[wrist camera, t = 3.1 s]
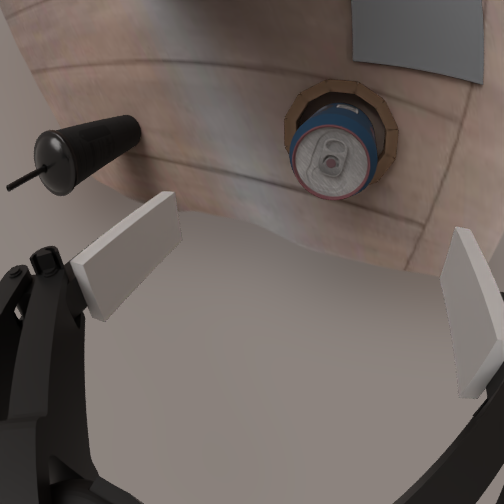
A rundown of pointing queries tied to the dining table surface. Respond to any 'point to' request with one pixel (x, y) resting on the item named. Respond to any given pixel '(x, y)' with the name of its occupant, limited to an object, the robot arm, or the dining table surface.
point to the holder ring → (363, 92)
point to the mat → (421, 35)
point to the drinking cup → (79, 152)
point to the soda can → (334, 152)
